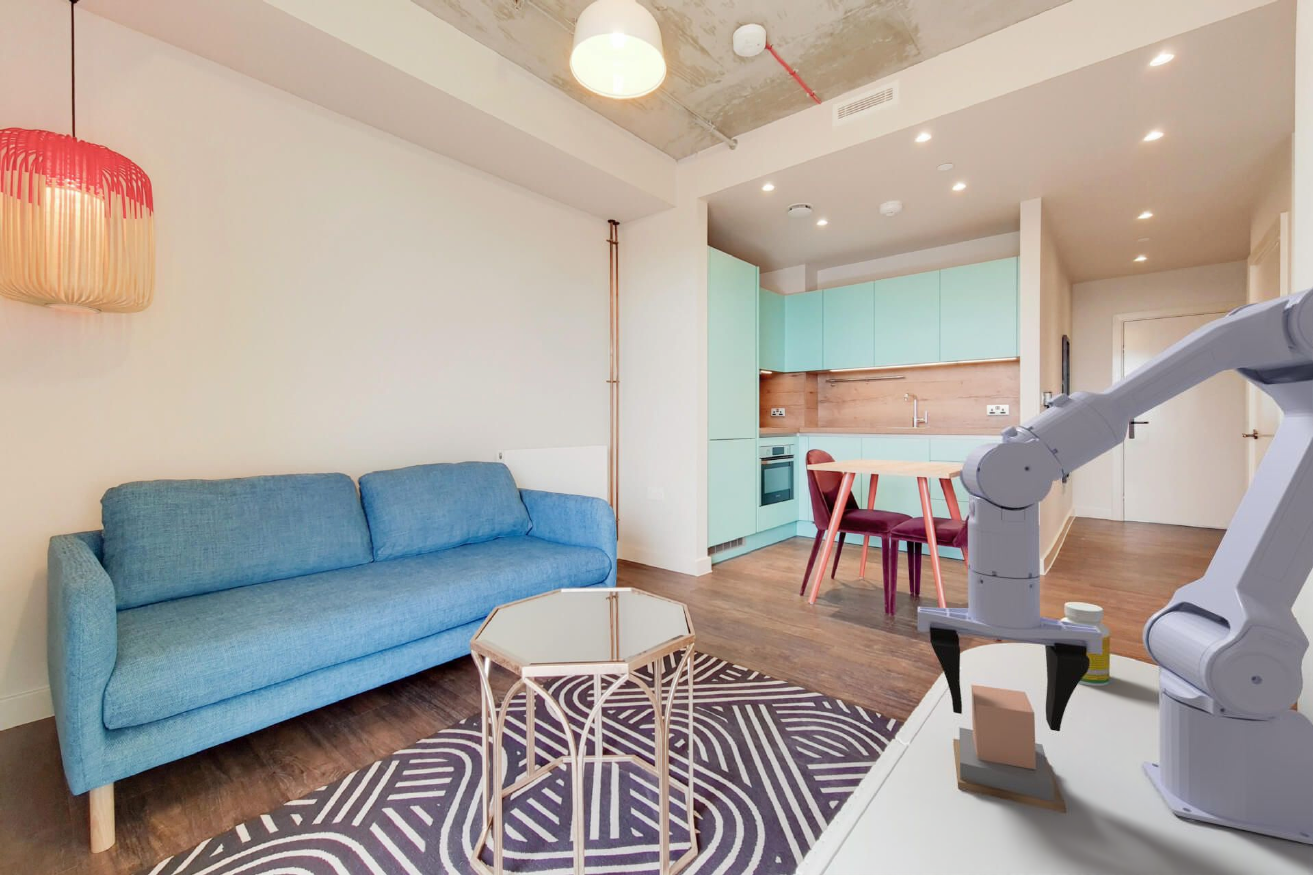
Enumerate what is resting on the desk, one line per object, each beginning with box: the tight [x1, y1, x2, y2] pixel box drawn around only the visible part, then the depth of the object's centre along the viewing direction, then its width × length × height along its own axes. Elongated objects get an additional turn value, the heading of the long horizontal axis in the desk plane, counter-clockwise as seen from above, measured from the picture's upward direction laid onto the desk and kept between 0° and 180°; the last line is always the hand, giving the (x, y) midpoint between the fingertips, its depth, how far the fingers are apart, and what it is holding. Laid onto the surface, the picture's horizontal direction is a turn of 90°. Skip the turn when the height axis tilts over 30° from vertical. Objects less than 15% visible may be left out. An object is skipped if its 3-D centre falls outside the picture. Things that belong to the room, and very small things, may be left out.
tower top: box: [958, 727, 1054, 802], centre depth 53 cm, size 7×7×2 cm
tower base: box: [952, 738, 1067, 814], centre depth 53 cm, size 8×8×2 cm
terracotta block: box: [971, 684, 1036, 770], centre depth 53 cm, size 4×4×5 cm
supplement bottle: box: [1060, 601, 1111, 687], centre depth 73 cm, size 5×5×10 cm
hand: (1003, 716), depth 53 cm, fingers open, 7 cm apart
